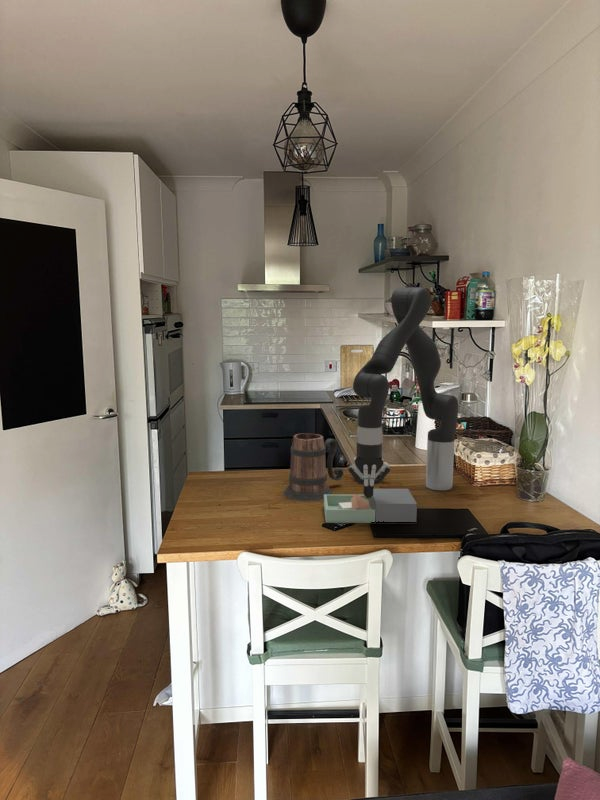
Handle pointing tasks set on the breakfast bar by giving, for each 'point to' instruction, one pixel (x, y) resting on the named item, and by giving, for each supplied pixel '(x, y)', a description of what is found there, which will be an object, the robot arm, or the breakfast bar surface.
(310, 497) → the tankard
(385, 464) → the teacup
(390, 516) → the grey drawer casing
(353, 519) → the box
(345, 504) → the cream tile
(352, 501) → the terracotta tile
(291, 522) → the breakfast bar surface
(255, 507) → the breakfast bar surface
